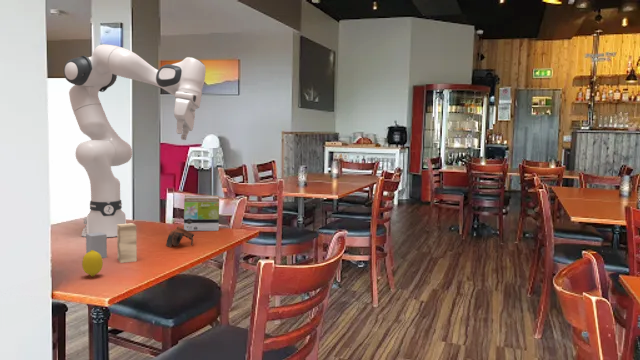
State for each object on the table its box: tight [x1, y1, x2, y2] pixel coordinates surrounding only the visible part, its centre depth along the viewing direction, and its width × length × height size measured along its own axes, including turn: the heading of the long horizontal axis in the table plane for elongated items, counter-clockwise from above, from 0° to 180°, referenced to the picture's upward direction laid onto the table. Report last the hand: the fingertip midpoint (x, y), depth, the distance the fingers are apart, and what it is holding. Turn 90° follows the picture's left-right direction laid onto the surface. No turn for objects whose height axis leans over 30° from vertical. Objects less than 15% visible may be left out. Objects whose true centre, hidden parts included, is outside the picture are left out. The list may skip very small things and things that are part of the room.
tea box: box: [183, 194, 220, 232], centre depth 229 cm, size 15×10×15 cm, turn 104°
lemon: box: [81, 250, 104, 278], centre depth 153 cm, size 6×6×8 cm
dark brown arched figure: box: [165, 226, 195, 248], centre depth 195 cm, size 12×10×8 cm
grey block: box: [85, 232, 108, 259], centre depth 176 cm, size 5×5×8 cm
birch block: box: [116, 222, 138, 264], centre depth 172 cm, size 5×5×12 cm
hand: (181, 136), depth 189 cm, fingers open, 8 cm apart
